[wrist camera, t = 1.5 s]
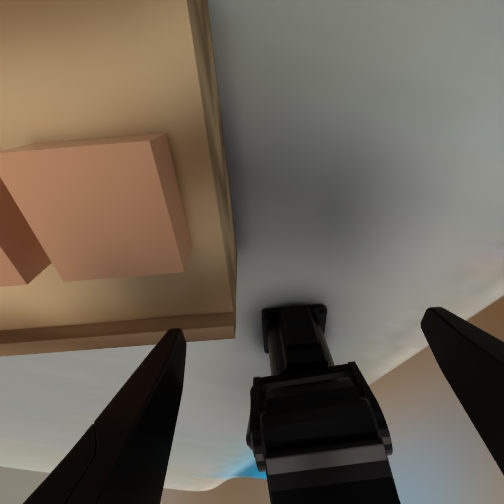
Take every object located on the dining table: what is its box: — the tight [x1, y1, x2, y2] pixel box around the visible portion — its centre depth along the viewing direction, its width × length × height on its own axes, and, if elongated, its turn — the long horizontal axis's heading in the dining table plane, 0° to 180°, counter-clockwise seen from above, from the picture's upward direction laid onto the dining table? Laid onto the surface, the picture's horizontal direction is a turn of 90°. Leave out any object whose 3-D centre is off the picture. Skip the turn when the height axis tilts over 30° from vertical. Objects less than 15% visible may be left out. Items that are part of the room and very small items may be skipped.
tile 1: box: [0, 133, 192, 282], centre depth 10 cm, size 5×5×2 cm
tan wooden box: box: [0, 0, 237, 356], centre depth 14 cm, size 16×22×9 cm
